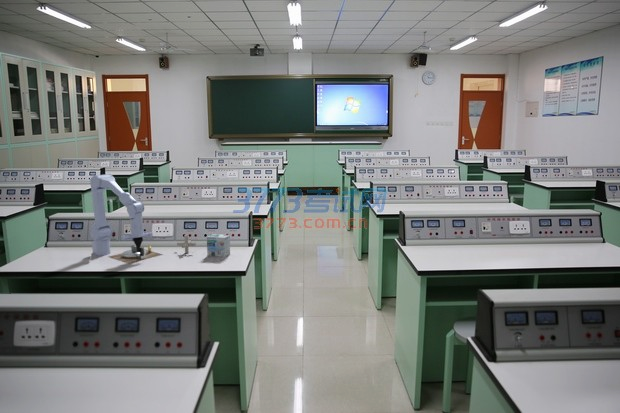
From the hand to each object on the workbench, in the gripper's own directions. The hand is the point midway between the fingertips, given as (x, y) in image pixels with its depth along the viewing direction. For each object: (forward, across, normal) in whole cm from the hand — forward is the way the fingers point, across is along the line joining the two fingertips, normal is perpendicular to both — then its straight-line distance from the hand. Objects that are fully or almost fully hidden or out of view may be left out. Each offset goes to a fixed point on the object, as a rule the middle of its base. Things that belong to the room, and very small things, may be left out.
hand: (138, 251), depth 227 cm
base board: (+5, 0, +8) cm, 10 cm away
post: (+2, 0, +8) cm, 9 cm away
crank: (+4, +1, +6) cm, 7 cm away
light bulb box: (+5, +38, -14) cm, 41 cm away
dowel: (+4, +8, +9) cm, 12 cm away
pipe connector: (+5, +26, 0) cm, 26 cm away
